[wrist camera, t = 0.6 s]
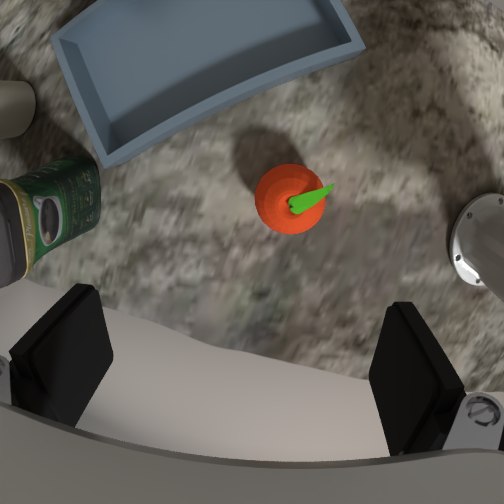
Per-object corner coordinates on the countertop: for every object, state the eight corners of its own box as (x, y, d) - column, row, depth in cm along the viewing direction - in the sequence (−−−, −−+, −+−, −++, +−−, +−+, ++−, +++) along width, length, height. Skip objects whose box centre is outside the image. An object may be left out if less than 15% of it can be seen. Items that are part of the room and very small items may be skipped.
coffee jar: (54, 155, 35) (-57, 188, 17) (103, 155, 34) (-11, 188, 17) (58, 226, 38) (-39, 288, 21) (105, 232, 38) (10, 305, 21)
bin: (281, -63, 23) (280, -84, 18) (354, 58, 28) (366, 48, 24) (73, 44, 29) (50, 37, 24) (125, 162, 35) (104, 168, 30)
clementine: (314, 146, 32) (324, 150, 26) (339, 204, 35) (353, 222, 28) (245, 176, 34) (238, 188, 28) (273, 232, 36) (271, 256, 30)
